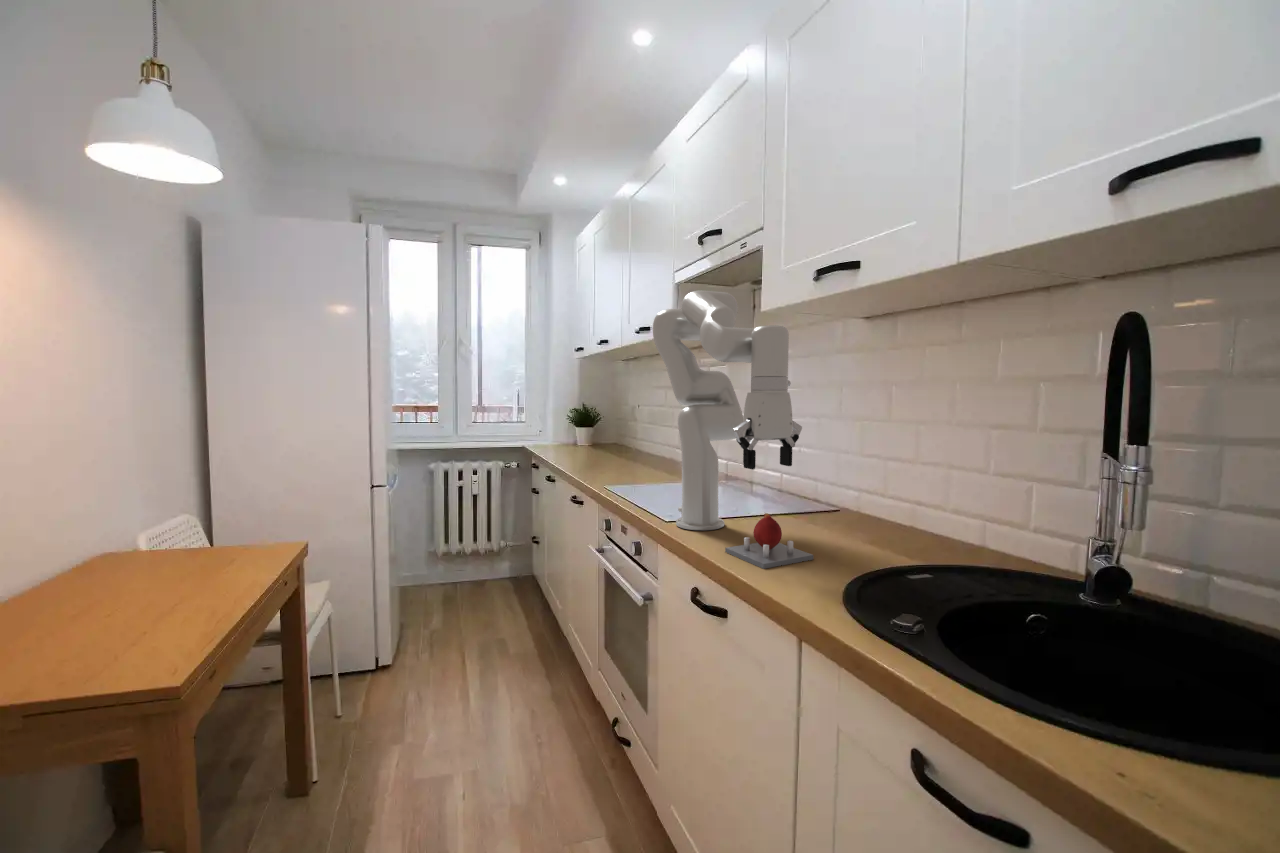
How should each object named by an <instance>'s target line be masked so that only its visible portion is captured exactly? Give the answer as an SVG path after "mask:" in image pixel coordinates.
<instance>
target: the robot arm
mask: <svg viewBox="0 0 1280 853" xmlns="http://www.w3.org/2000/svg"><path fill="white" fill-rule="evenodd" d="M738 312H739V304H738V301H737V299H736V297H734V295H732V294H731V293H729V292H727V291H715V290H702V289H701V290H694V291H691V292H688V293H687V294H686V295H685V296H684V298H683V300H681V308H670V309H669V308H667V309H664V310H661V311H660V312H658V313H657V314H656V315H655V317H654V318H653V322H652V336H653V337H652V338H653V342H654V345H655V348H656V350H657V352H658V354H659V356H660V358H661V359H662V361H663V363H664V365H665V368H666V371H667V374H668V377H669V380H670V385H671V387H672V391H673V395H674V397H675V400H676V401H677V403H678V404H680V405H682V406H686V407H684V408H682V409H681V411H680V412H679V414H678V416H677V427H678V434H679V439H680V450H681V506H679V507H678V508H677V509H678V510H677V511H678V512H680V513H681V517H678V518H677V519H676V521H675V525H676V526H677V528H678V527H679V528H681V529H684V530H691V531H713V530H714V531H715V530H718V529H719V530H720V529H721V528H723V527H724V526H725V520H723V519H722V518H719V456H718V454H717V451H716V450H715V448H714V446H713V445H712V443H711V442H714V441H716V442H717V441H730V440H735V439H736V442H737V443H738V444H739V446H740V448H741V450H742V451H743V453H742V454H743V456H742V457H743V458H742V459H743V460H742V462H743V468H744V469H749V470H755V469H756V461H757V460H756V450H755V449H754V448H755V446H757V443H758V442H759V441H775V440H778V441H779V442H780V443H781V446H780V447H779V464H780V465H781V466H786V467H792V466H793V448H795V447H796V443H797V441H798V440H799V439H800V434H801V431H802V429H803V426H802V425H801V424H799V423H797V422H795V421H794V419H793V407H792V398H791V395H790V392H789V391H788V388H789V387H791V381H790V380H789V339H790V338H789V335H790V334H789V330H788V328H787V327H786V326H783V325H760V326H757V327H754V328H752V327H751V328H750V327H735V324H736V319H737V316H738ZM682 341H696V342H700V344H701V347H702V349H703V350H704V351H705V352H706V353H707V354H708V355H710V357H712V358H713V359H715V360H717V361H718V362H721V363H722V362H723V363H747V364H750V363H751V364H750V366H751V367H750V392H747V393H746V394H747V395H746V398H745V402H744V407H743V411H742V409H741V405H740V403H739V400H738V397H737V395H736V392H735V388H734V385H733V383H732V381H731V379H730V378H729V376H728V375H727V374H725V373H724V372H722V371H718V370H703V369H701V368H700V366H699V364H698V361H697V358H696V356H695V354H694V353H693V351H692V350H691V349H690V348H689V346H687V345H686V344H684V343H683V342H682Z"/></svg>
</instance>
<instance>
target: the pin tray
mask: <svg viewBox="0 0 1280 853" xmlns="http://www.w3.org/2000/svg"><path fill="white" fill-rule="evenodd" d="M724 550H725V551H724V553H726V552H727V553H726V554H728V553H729V554H728V555H730V554H731V556H734V557H735V556H736V557H735V558H737V557H738V559H740V560H742V561H745V562H747V563H749V564H752V565H753V566H755V567H758V568H760V569H763V570H765V569H770V568H776V567H781V565H782V566H787V565H792V563H793V564H797V563H802V561H804V562H808V560H809V561H814V554H812V553H809V552H806V551H802V550H801V549H797V548H795V547H794V541H793V540H787V544H784V543H781V542H779V543H778V544H777V545H776V546H775V547H774V548H772V549H771V550H769V545H766V544H765V545H763V547H761V546H760V545H759V544H758V543H757V542H753V543H751V537H748V536H747V537H743V544H740V545H733V546H728V547H725V549H724Z"/></svg>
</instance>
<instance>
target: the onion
mask: <svg viewBox="0 0 1280 853" xmlns="http://www.w3.org/2000/svg"><path fill="white" fill-rule="evenodd" d="M763 516H764V517H762V518H761V519H760V520H758V522H757V523H756V524H755V526H754V527H753V533H752V534H753V538H754V540H755V541H756V543H758V544H759V545H760V546H761V547H763V545H765V544H766V545H769V550H771V549H772V548H774V547H775V546H776V545H777V544H778V543H781V540H782V537H783V536H782V535H783V532H782V528H781V525H780V524H779V523H778V522H777V521H776V520H775V519H774V518H773V517H772V516H771V515H770V513H764V514H763Z"/></svg>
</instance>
